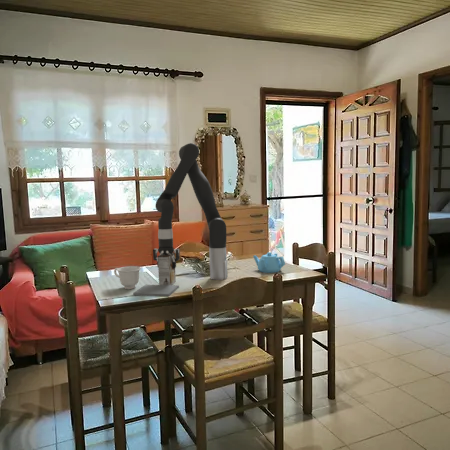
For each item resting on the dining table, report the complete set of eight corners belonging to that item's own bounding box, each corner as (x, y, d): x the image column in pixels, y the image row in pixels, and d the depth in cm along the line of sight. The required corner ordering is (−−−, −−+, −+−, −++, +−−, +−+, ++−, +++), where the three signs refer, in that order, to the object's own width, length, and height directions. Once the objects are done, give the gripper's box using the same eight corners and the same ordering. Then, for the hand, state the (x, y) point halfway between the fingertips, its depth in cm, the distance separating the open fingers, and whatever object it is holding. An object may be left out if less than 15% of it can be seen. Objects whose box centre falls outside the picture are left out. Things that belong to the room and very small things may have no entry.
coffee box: (164, 281, 231) (163, 252, 229) (176, 282, 229) (174, 252, 227) (158, 286, 222) (157, 255, 220) (170, 286, 220) (169, 256, 218)
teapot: (260, 274, 242) (260, 255, 241) (252, 269, 257) (252, 251, 256) (286, 272, 246) (286, 254, 245) (276, 267, 260) (276, 249, 259)
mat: (179, 287, 218) (178, 285, 218) (169, 296, 203) (168, 294, 203) (145, 286, 222) (145, 284, 222) (133, 295, 206) (133, 293, 206)
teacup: (122, 283, 229) (121, 265, 228) (146, 285, 224) (145, 266, 223) (108, 289, 218) (107, 270, 217) (133, 291, 213) (132, 271, 211)
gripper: (181, 236, 225) (182, 267, 227) (155, 236, 228) (156, 266, 229) (176, 238, 217) (177, 270, 219) (149, 238, 220) (151, 269, 222)
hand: (166, 268), depth 224 cm, fingers open, 7 cm apart
